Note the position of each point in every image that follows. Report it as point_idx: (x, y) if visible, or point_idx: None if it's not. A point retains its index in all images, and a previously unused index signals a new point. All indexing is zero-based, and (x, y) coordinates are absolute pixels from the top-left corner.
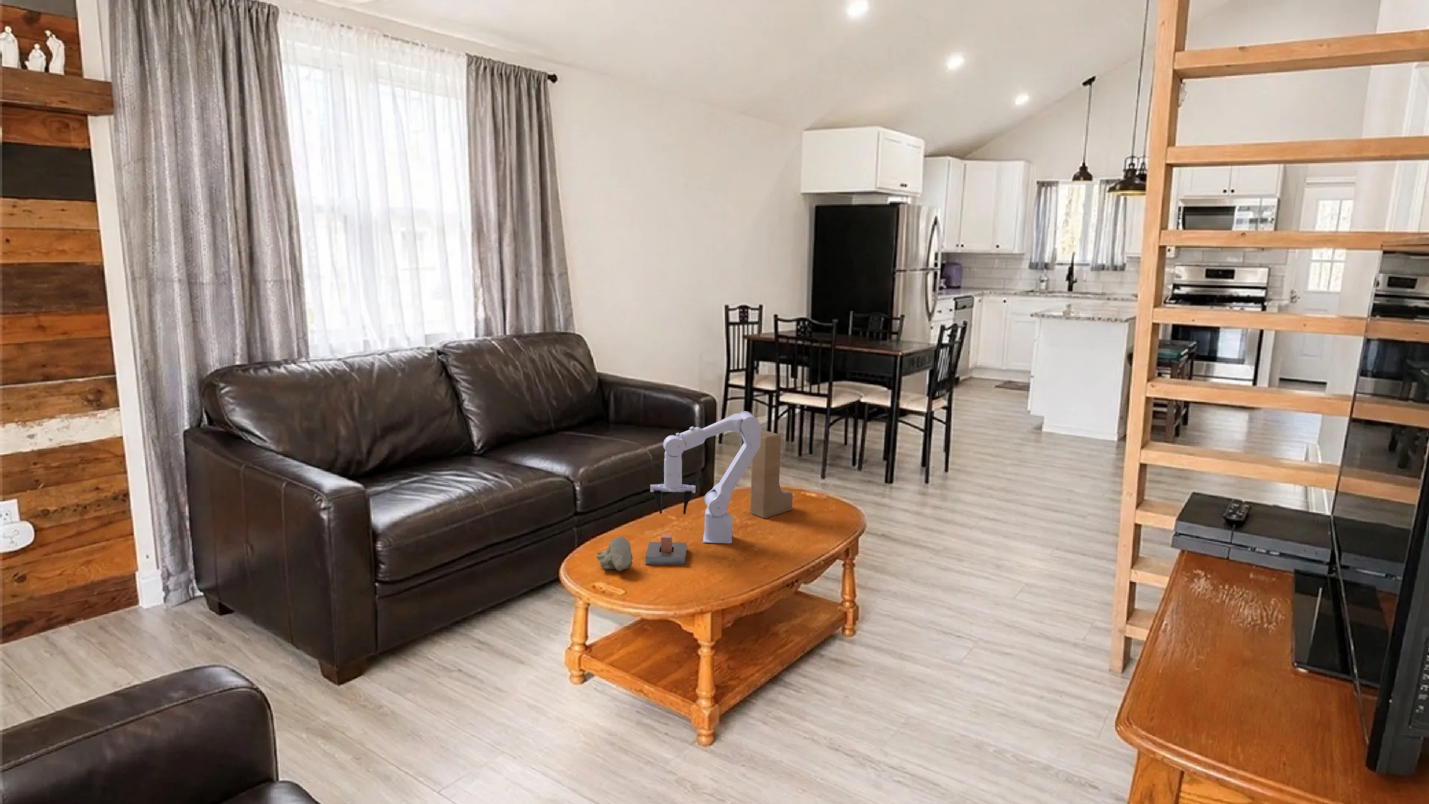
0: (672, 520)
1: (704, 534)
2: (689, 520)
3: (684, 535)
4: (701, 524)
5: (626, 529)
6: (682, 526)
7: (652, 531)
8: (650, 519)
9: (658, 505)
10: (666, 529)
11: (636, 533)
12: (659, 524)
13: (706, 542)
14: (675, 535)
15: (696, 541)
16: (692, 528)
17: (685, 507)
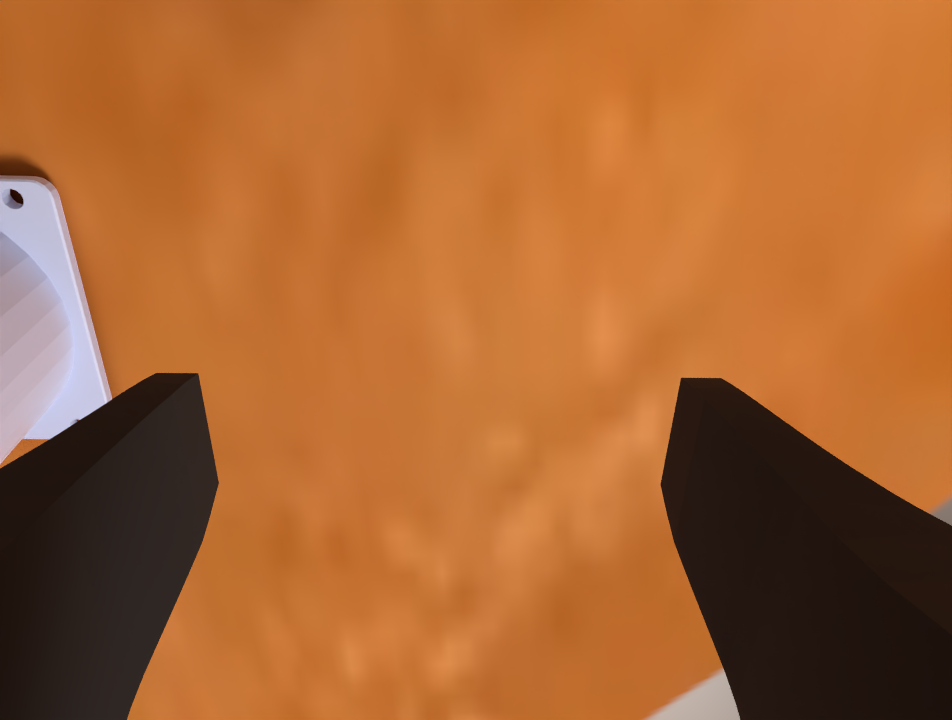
0: (479, 693)
1: (94, 397)
2: (330, 700)
3: (328, 397)
4: (207, 637)
5: (921, 508)
6: (377, 593)
7: None
8: (668, 700)
9: (858, 474)
10: (527, 526)
11: (840, 423)
12: (594, 620)
13: (4, 175)
14: (427, 393)
15: (156, 236)
16: (274, 558)
17: (59, 450)
